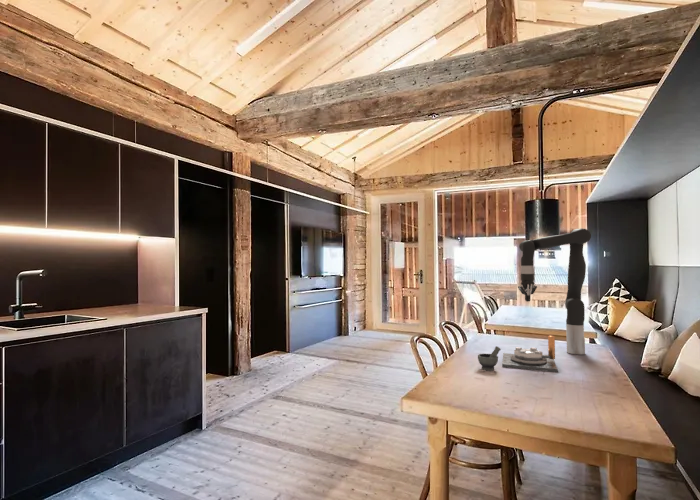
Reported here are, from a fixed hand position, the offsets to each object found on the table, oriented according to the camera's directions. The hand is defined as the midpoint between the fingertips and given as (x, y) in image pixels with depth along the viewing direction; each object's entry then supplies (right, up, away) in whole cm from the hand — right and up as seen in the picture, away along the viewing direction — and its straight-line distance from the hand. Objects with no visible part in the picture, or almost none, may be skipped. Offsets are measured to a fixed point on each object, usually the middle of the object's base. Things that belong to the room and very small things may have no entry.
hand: (527, 301), depth 238 cm
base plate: (-12, -30, -26) cm, 42 cm away
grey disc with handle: (-8, -27, -27) cm, 39 cm away
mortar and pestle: (-37, -31, -37) cm, 61 cm away
